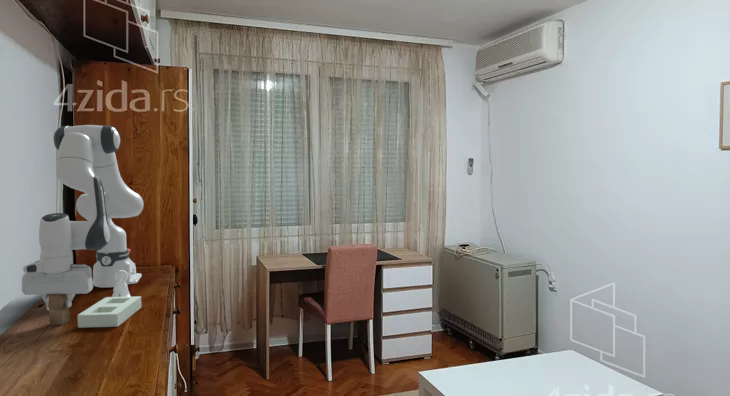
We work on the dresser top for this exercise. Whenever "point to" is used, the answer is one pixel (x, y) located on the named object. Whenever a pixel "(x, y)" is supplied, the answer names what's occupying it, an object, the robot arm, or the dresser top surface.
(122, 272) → the sitting furry creature
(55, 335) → the dresser top surface
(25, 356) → the dresser top surface
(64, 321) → the wood grain block
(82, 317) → the socket board
